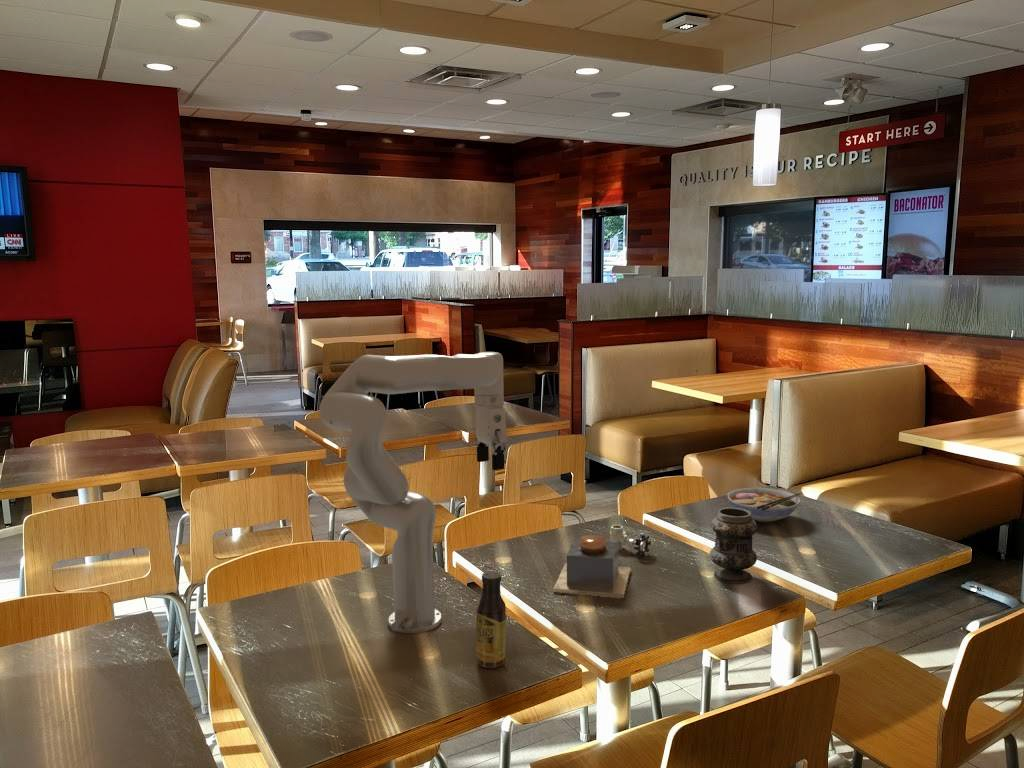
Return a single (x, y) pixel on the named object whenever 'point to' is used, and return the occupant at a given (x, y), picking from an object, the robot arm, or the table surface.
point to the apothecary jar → (733, 545)
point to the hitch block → (593, 573)
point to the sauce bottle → (491, 623)
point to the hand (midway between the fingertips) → (490, 465)
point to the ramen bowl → (764, 503)
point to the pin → (592, 544)
